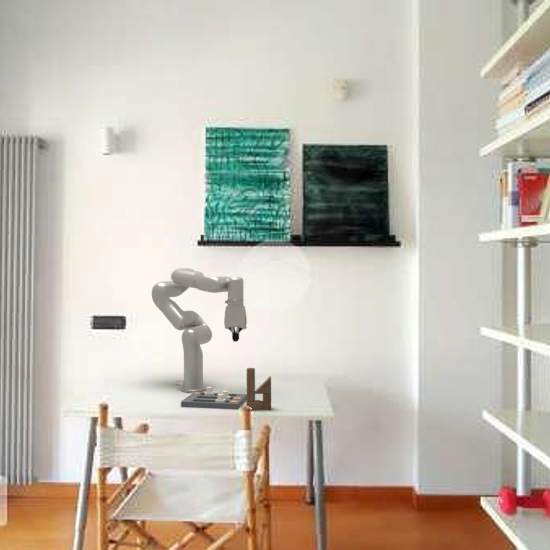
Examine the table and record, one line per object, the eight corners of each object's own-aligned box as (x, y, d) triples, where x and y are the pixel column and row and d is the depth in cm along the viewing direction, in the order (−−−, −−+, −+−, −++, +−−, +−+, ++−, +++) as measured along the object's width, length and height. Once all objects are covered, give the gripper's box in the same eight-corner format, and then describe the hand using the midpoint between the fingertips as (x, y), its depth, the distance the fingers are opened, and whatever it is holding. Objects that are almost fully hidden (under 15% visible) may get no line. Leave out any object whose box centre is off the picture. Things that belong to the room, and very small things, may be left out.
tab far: (204, 397, 261) (204, 388, 261) (206, 395, 264) (206, 386, 264) (212, 397, 260) (212, 388, 260) (214, 396, 263) (214, 386, 263)
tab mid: (220, 401, 253) (220, 391, 253) (222, 399, 256) (222, 390, 256) (228, 402, 253) (228, 392, 252) (230, 400, 256) (230, 390, 256)
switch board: (181, 406, 249) (180, 400, 249) (194, 397, 267) (194, 391, 267) (237, 409, 244) (237, 403, 244) (247, 399, 262) (247, 393, 262)
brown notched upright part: (271, 410, 243) (271, 368, 243) (246, 410, 242) (246, 369, 242) (270, 407, 247) (270, 367, 246) (246, 408, 246) (246, 367, 246)
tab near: (215, 405, 248) (215, 394, 247) (217, 403, 251) (217, 393, 251) (224, 405, 247) (223, 395, 247) (226, 403, 250) (225, 393, 250)
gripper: (218, 303, 266) (218, 341, 267) (248, 304, 263) (248, 342, 263) (223, 302, 274) (223, 339, 274) (252, 302, 270) (252, 340, 271)
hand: (235, 341), depth 269 cm, fingers closed
